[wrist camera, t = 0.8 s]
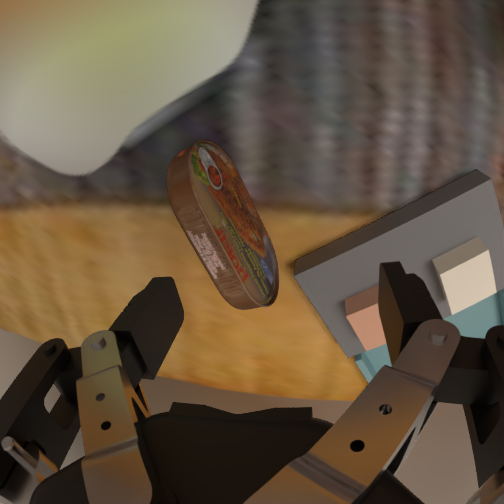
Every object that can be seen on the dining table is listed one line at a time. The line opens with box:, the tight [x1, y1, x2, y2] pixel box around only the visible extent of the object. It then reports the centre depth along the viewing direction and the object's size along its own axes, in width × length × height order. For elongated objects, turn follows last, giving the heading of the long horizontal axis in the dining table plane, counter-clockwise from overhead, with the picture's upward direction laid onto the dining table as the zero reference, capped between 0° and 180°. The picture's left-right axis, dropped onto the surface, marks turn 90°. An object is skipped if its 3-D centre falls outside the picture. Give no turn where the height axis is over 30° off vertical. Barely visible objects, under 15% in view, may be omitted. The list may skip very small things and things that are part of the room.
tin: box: [166, 140, 279, 310], centre depth 27 cm, size 15×3×8 cm, turn 25°
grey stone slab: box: [294, 170, 504, 358], centre depth 28 cm, size 20×12×3 cm, turn 124°
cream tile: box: [432, 236, 497, 315], centre depth 24 cm, size 5×5×2 cm
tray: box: [355, 288, 504, 383], centre depth 31 cm, size 19×10×4 cm, turn 124°
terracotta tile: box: [345, 285, 386, 351], centre depth 28 cm, size 5×5×2 cm
